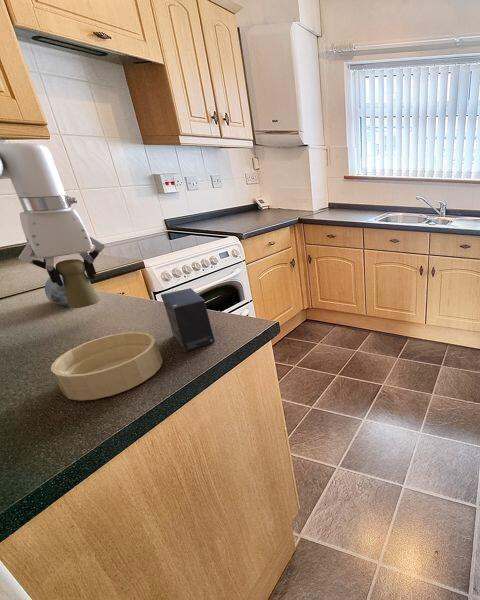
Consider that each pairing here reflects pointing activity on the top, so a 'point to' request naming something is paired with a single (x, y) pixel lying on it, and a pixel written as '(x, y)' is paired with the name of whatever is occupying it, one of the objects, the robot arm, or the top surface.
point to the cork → (76, 284)
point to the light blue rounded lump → (56, 292)
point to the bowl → (107, 365)
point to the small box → (188, 318)
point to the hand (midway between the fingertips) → (76, 280)
